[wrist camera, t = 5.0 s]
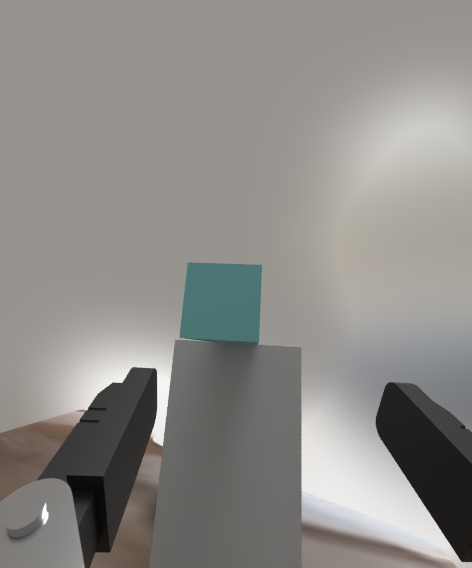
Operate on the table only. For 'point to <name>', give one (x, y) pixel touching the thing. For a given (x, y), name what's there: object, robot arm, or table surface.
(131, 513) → the table surface
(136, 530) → the table surface
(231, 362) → the pedestal
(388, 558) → the table surface
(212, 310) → the block
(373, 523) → the table surface
